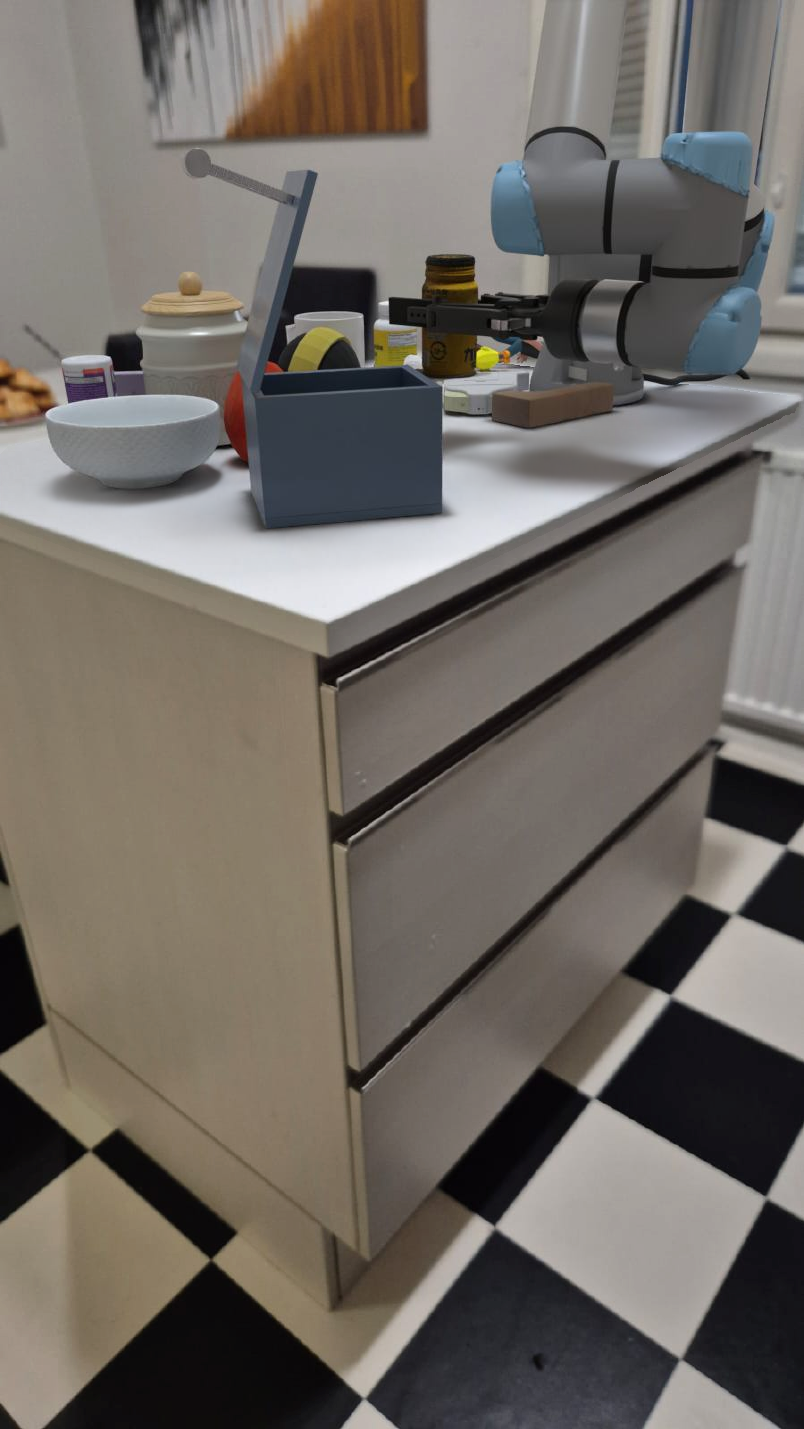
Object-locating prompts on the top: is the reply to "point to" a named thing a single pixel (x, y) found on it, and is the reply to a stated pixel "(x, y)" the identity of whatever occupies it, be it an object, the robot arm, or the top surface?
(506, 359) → the toy figure
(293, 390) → the blue-grey open box
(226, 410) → the apple
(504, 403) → the wooden block
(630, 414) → the top surface
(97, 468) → the cereal bowl
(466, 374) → the condiment
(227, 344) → the jar
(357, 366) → the bomb
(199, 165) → the lid
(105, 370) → the pill bottle
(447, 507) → the top surface
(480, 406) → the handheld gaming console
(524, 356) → the figurine
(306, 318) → the mug
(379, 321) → the pill bottle
